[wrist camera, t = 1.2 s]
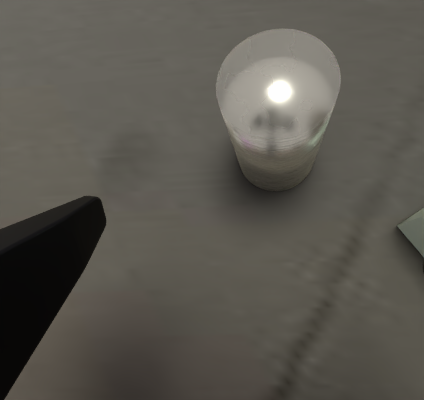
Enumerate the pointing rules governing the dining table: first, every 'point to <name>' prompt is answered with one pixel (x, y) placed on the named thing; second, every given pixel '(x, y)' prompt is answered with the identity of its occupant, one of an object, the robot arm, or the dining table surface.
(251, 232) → the dining table surface
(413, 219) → the tray
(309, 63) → the can
